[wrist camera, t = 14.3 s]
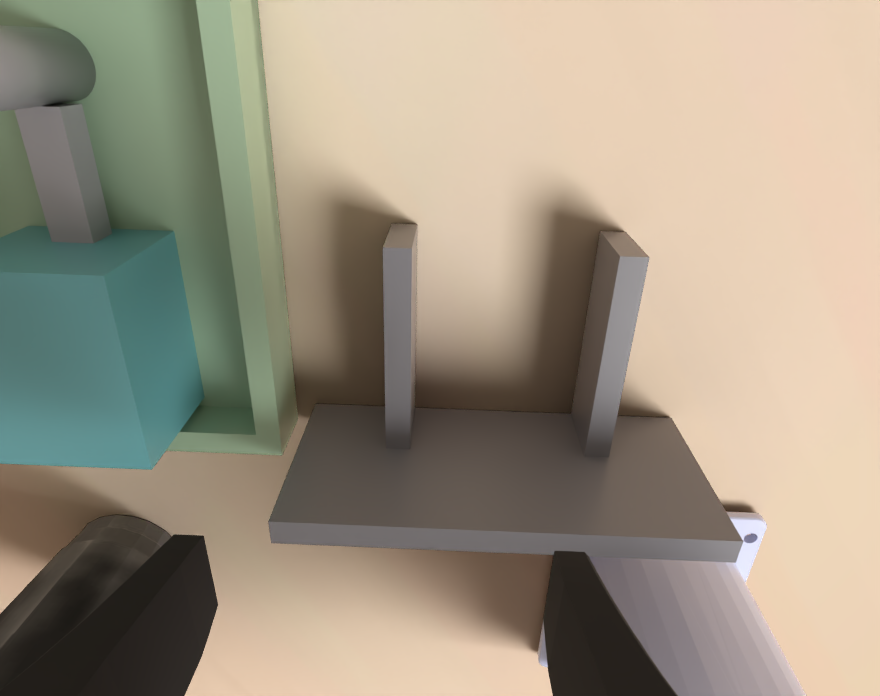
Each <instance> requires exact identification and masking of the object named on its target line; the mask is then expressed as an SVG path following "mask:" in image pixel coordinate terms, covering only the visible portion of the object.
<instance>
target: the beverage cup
mask: <svg viewBox="0 0 880 696" xmlns="http://www.w3.org/2000/svg"><path fill="white" fill-rule="evenodd" d="M170 538H171V536H170V535H169V534H168V533H167V532H166V531H165V530H163V529H161V528H159V527H158V526H156V525H154V524H153V523H151V522H149V521H145V520H142V519H139V518H136V517H133V516H123V515H112V516H105V517H100V518H98V519H96V520H94V521H92V522H90V523H88V524H87V526H86V527H85V528H84V529H83V530H82V532H81V533H80V534H79V535H77V536H76V537H75V538H74V539H73V540H72V541H71V542H70V543H69V544H68V545H67V546H66V547H65V548H63V549H61V550H60V551H59V552H58V553H57V555H56V556H55V557H54V558H53V559H52V560H51V561H50V562H49V563H48V564H47V565H46V566H45V567H44V568H43V569H42V570H41V571H40V573H39V574H38V575H37V576H36V577H35V578H34V579H33V580H32V581H31V582H30V583H29V584H28V585H27V586H26V587H25V588H24V589H23V591H22V592H21V593H20V594H19V595H18V596H17V597H16V598H15V599H14V600H13V601H12V602H11V603H10V604H9V605H8V606H7V607H6V609H5V610H4V611H3V612H2V613H1V614H0V690H1V689H2V688H4V687H5V686H6V685H7V684H9V683H10V682H11V681H12V680H14V679H15V678H16V677H17V676H19V675H20V674H21V673H22V672H23V671H25V670H26V669H27V668H28V667H30V666H31V665H32V664H33V663H34V662H36V661H37V660H38V659H39V658H40V657H41V656H43V655H44V654H45V653H46V652H47V651H48V650H50V649H51V648H52V647H53V646H54V645H55V644H57V643H58V642H59V641H60V640H61V639H62V638H64V637H65V636H66V635H67V634H68V633H69V632H70V631H72V630H73V629H74V628H75V627H76V626H77V625H78V624H79V623H81V622H82V621H83V620H84V619H85V618H86V617H87V616H88V615H89V614H90V613H91V612H93V611H94V610H95V609H96V608H97V607H98V606H99V605H100V604H101V603H102V602H103V601H104V600H106V599H107V598H108V597H109V596H110V595H111V594H112V593H113V592H114V591H115V590H116V589H117V588H118V587H119V586H121V585H122V584H123V583H124V582H125V581H126V580H127V579H128V578H129V577H130V576H131V575H132V574H133V573H134V572H135V571H136V570H137V569H138V568H139V567H140V566H141V565H142V564H143V563H145V562H146V561H147V560H148V559H149V558H150V557H151V556H152V555H153V554H154V553H155V552H156V551H157V550H158V549H159V548H160V547H161V546H162V545H163V544H164V543H165V542H167V541H168V540H169V539H170Z"/></svg>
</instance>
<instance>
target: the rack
mask: <svg viewBox="0 0 880 696" xmlns="http://www.w3.org/2000/svg"><path fill="white" fill-rule="evenodd" d="M648 262H649V256H648V255H647V254H646V253H645V252H644V251H643V250H642V249H641V248H640V247H639V246H638V245H637V244H636V242H635V241H634V240H633V239H632V238H631V237H630V236H629V235H628V234H627V233H626V232H613V231H600V235H599V241H598V247H597V254H596V260H595V266H594V272H593V279H592V285H591V291H590V298H589V304H588V310H587V316H586V323H585V329H584V335H583V342H582V348H581V354H580V361H579V367H578V373H577V379H576V386H575V392H574V398H573V405H572V411H571V414H563V413H538V412H513V411H488V410H463V409H438V408H415V373H416V295H417V224H397V223H392V224H391V227H390V230H389V232H388V235H387V238H386V240H385V243H384V246H383V295H384V362H385V406H363V405H338V404H315V406H314V409H313V411H312V414H311V416H310V419H309V421H308V424H307V426H306V429H305V431H304V434H303V436H302V439H301V441H300V444H299V446H298V449H297V451H296V454H295V456H294V459H293V461H292V464H291V466H290V469H289V471H288V474H287V476H286V479H285V481H284V484H283V486H282V489H281V491H280V494H279V496H278V499H277V501H276V504H275V506H274V509H273V511H272V514H271V516H270V519H269V521H268V523H269V530H270V537H271V543H281V544H304V545H328V546H352V547H375V548H399V549H423V550H446V551H470V552H494V553H518V554H541V555H554V551H576V552H585V553H586V554H587V555H588V556H589V557H612V558H636V559H660V560H683V561H707V562H731V563H736V561H737V558H738V555H739V552H740V550H741V547H742V544H743V540H742V538H741V536H740V535H739V533H738V531H737V530H736V528H735V526H734V524H733V523H732V521H731V519H730V518H729V516H728V514H727V512H726V511H725V509H724V507H723V506H722V504H721V502H720V500H719V499H718V497H717V495H716V494H715V492H714V490H713V488H712V487H711V485H710V483H709V482H708V480H707V478H706V476H705V475H704V473H703V471H702V470H701V468H700V466H699V464H698V463H697V461H696V459H695V458H694V456H693V454H692V452H691V451H690V449H689V447H688V446H687V444H686V442H685V440H684V439H683V437H682V435H681V434H680V432H679V430H678V428H677V427H676V425H675V423H674V422H673V420H672V418H663V417H638V416H617V415H618V410H619V405H620V400H621V395H622V390H623V385H624V380H625V375H626V371H627V366H628V361H629V356H630V351H631V346H632V341H633V336H634V331H635V326H636V321H637V316H638V311H639V306H640V301H641V296H642V292H643V287H644V282H645V277H646V272H647V267H648Z"/></svg>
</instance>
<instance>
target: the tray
mask: <svg viewBox="0 0 880 696" xmlns="http://www.w3.org/2000/svg"><path fill="white" fill-rule="evenodd" d="M0 25H5V26H23V27H41V28H57V29H61V30H64V31H67V32H69V33H71V34H72V35H74V36H75V37H76V38H78V39H79V40H80V41H81V42H82V43H83V44H84V46H85V47H86V48H87V50H88V51H89V53H90V55H91V57H92V59H93V61H94V65H95V70H96V81H95V85H94V88H93V90H92V92H91V93H90V94H89V95H88V96H87V97H86V98H84V99H82V100H79V101H75V102H67V103H73V104H82V106H83V111H84V115H85V119H86V123H87V128H88V132H89V136H90V141H91V145H92V149H93V153H94V158H95V162H96V166H97V171H98V175H99V179H100V183H101V188H102V192H103V196H104V201H105V205H106V209H107V213H108V218H109V222H110V226H111V229H134V230H163V231H174V233H175V238H176V244H177V249H178V255H179V260H180V265H181V271H182V276H183V282H184V287H185V293H186V298H187V304H188V309H189V314H190V320H191V325H192V331H193V336H194V342H195V347H196V353H197V358H198V364H199V369H200V374H201V380H202V385H203V391H204V396H205V397H204V399H203V400H202V401H201V403H200V404H199V406H198V407H197V408H196V410H195V411H194V412H193V414H192V415H191V417H190V418H189V419H188V421H187V422H186V423H185V425H184V426H183V428H182V429H181V430H180V432H179V433H178V434H177V436H176V437H175V439H174V440H173V441H172V443H171V444H170V445H169V447H168V448H167V450H166V451H186V452H211V453H235V454H260V455H283V453H284V450H285V448H286V446H287V443H288V441H289V439H290V436H291V434H292V432H293V429H294V427H295V425H296V422H297V420H298V413H297V402H296V392H295V382H294V372H293V361H292V351H291V341H290V330H289V320H288V310H287V299H286V289H285V279H284V268H283V258H282V248H281V237H280V227H279V217H278V206H277V196H276V186H275V175H274V165H273V155H272V145H271V134H270V124H269V114H268V103H267V93H266V83H265V72H264V62H263V52H262V41H261V31H260V21H259V10H258V0H0ZM27 226H47V223H46V220H45V216H44V213H43V209H42V206H41V202H40V199H39V195H38V191H37V188H36V184H35V181H34V177H33V174H32V170H31V167H30V163H29V160H28V156H27V153H26V149H25V146H24V142H23V139H22V135H21V132H20V128H19V124H18V121H17V117H16V114H15V110H8V111H0V237H3V236H5V235H8V234H10V233H12V232H15V231H17V230H20V229H22V228H25V227H27Z"/></svg>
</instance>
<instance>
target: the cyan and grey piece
mask: <svg viewBox="0 0 880 696" xmlns="http://www.w3.org/2000/svg"><path fill="white" fill-rule="evenodd" d="M95 81H96V70H95V65H94V61H93V59H92V57H91V55H90V53H89V51H88V50H87V48H86V47H85V46H84V44H83V43H82V42H81V41H80V40H79V39H78V38H76V37H75V36H74V35H72V34H71V33H69V32H67V31H64V30H61V29H57V28H41V27H23V26H5V25H0V111H8V110H15V114H16V117H17V121H18V124H19V128H20V132H21V135H22V139H23V142H24V146H25V149H26V153H27V156H28V160H29V163H30V167H31V170H32V174H33V177H34V181H35V184H36V188H37V191H38V195H39V199H40V202H41V206H42V209H43V213H44V216H45V220H46V223H47V226H27V227H25V228H22V229H20V230H17V231H15V232H12V233H10V234H8V235H5V236H3V237H0V464H23V465H49V466H74V467H99V468H125V469H150V470H152V469H153V467H154V466H155V465H156V463H157V462H158V461H159V459H160V458H161V456H162V455H163V454H164V452H165V451H166V450H167V448H168V447H169V445H170V444H171V443H172V441H173V440H174V439H175V437H176V436H177V434H178V433H179V432H180V430H181V429H182V428H183V426H184V425H185V423H186V422H187V421H188V419H189V418H190V417H191V415H192V414H193V412H194V411H195V410H196V408H197V407H198V406H199V404H200V403H201V401H202V400H203V399H204V397H205V396H204V391H203V385H202V380H201V374H200V369H199V364H198V358H197V353H196V347H195V342H194V336H193V331H192V325H191V320H190V314H189V309H188V304H187V298H186V293H185V287H184V282H183V276H182V271H181V265H180V260H179V255H178V249H177V244H176V238H175V233H174V231H163V230H134V229H111V226H110V222H109V218H108V213H107V209H106V205H105V201H104V196H103V192H102V188H101V183H100V179H99V175H98V171H97V166H96V162H95V158H94V153H93V149H92V145H91V141H90V136H89V132H88V128H87V123H86V119H85V115H84V111H83V106H82V104H73V103H67V102H75V101H79V100H82V99H84V98H86V97H87V96H88V95H89V94H90V93H91V92H92V90H93V88H94V85H95Z"/></svg>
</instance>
